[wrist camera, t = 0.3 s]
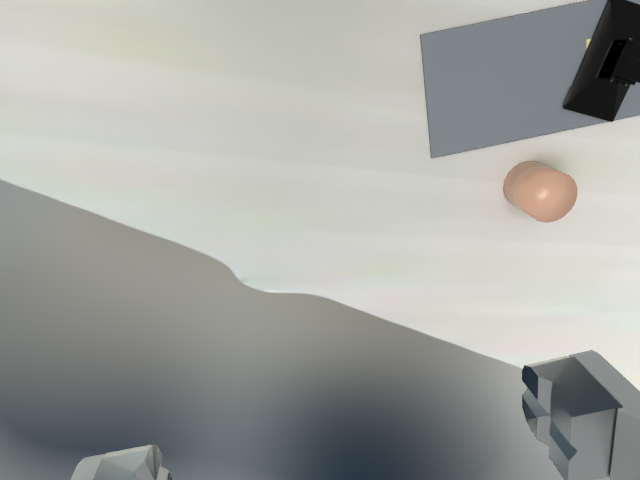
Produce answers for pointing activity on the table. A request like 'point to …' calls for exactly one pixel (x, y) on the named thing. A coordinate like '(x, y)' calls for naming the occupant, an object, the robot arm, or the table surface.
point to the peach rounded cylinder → (540, 191)
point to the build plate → (608, 63)
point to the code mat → (509, 78)
